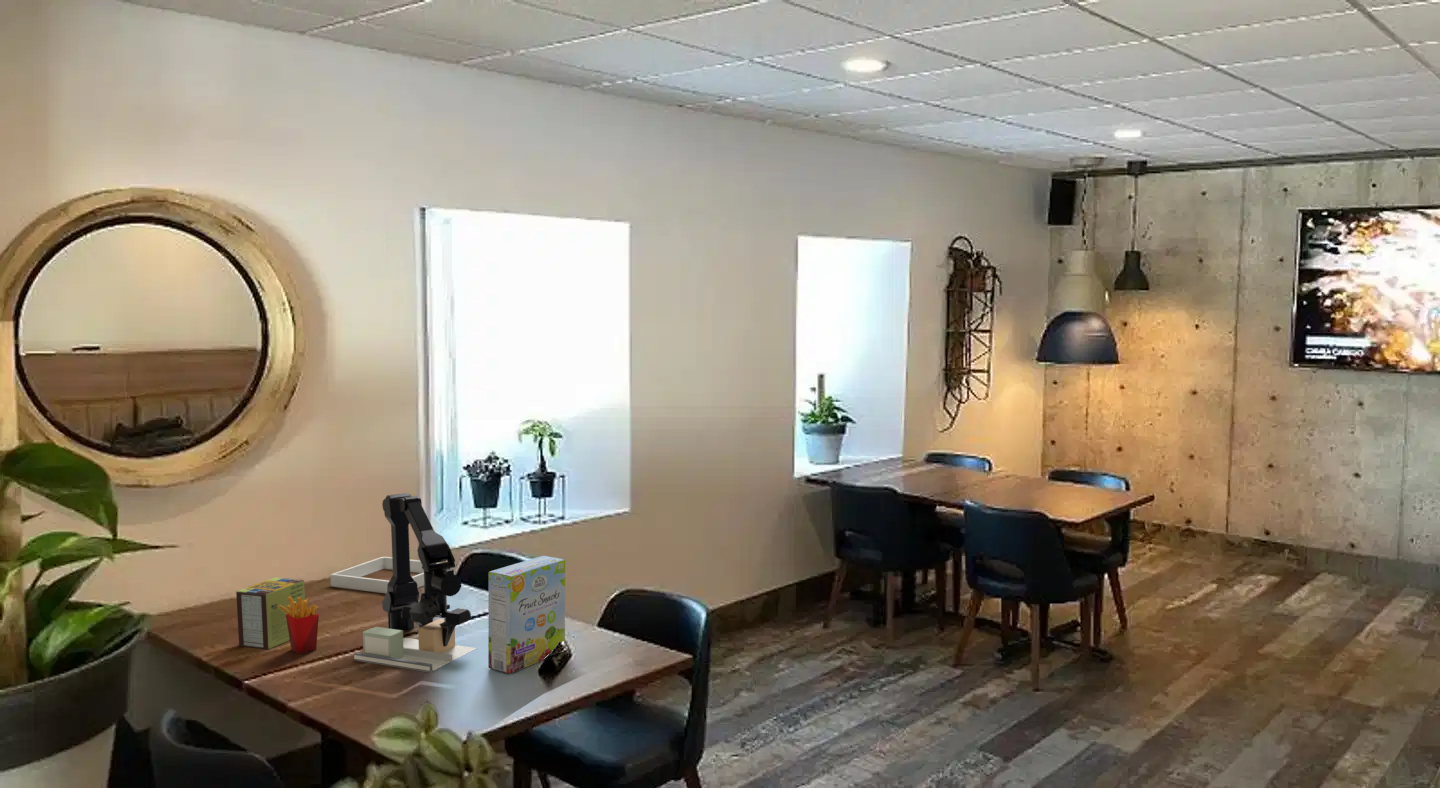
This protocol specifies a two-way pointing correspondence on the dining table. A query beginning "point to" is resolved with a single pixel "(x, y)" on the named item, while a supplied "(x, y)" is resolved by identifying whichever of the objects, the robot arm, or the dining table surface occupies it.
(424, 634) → the ochre tea box
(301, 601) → the french fries
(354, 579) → the serving tray rim
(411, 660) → the shelf
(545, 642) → the snack box
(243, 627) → the protein box
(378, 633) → the sage tea box
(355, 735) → the dining table surface
